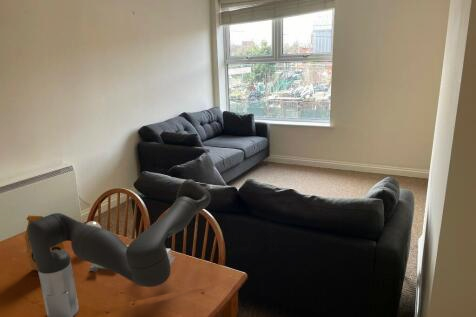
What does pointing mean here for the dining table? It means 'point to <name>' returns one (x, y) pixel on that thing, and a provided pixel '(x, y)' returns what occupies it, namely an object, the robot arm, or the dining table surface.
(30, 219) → the coffee package
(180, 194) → the robot arm
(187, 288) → the dining table surface
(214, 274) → the dining table surface
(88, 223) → the light bulb
